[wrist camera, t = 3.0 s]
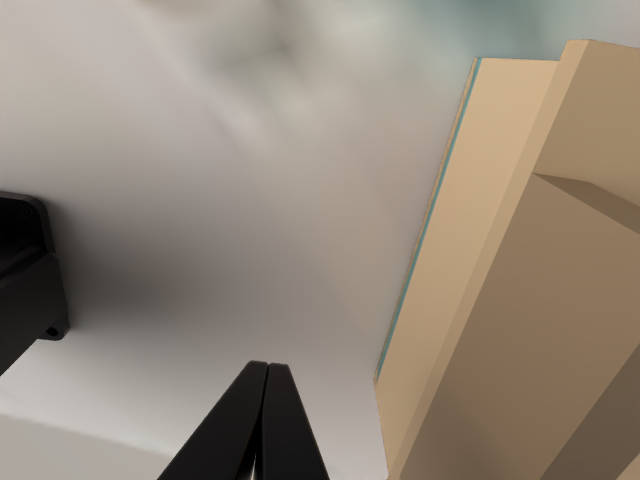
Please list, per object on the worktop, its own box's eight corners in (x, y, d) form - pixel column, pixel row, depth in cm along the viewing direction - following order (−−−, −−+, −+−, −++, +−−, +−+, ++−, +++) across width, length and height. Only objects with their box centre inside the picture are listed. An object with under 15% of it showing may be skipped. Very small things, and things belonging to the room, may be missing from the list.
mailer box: (373, 379, 18) (391, 490, 13) (474, 57, 11) (575, 61, 7) (642, 410, 19) (744, 523, 14) (875, 130, 12) (1191, 176, 8)
